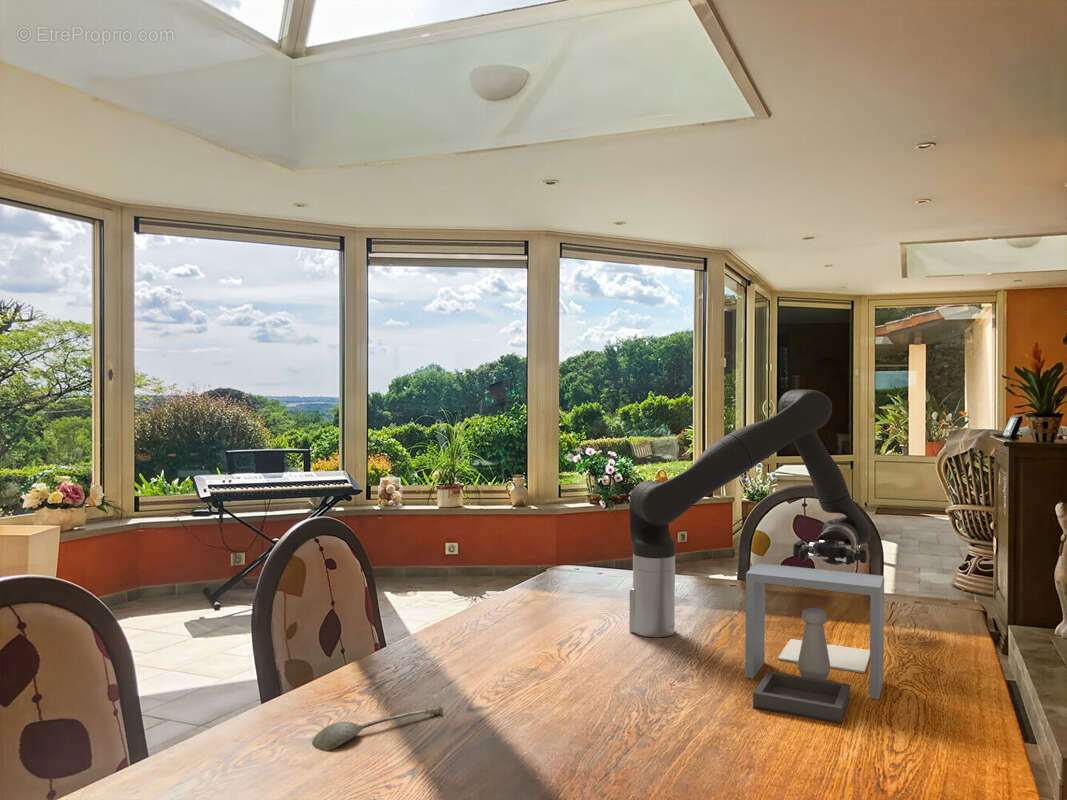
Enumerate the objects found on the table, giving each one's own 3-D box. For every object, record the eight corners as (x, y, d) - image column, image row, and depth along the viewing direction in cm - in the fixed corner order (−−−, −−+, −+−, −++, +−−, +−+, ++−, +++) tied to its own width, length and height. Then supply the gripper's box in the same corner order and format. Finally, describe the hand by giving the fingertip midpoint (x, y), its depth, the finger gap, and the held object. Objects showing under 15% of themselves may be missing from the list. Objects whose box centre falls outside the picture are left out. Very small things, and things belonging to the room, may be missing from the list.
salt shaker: (832, 686, 146) (833, 614, 146) (799, 683, 147) (800, 612, 147) (827, 675, 151) (828, 606, 151) (795, 672, 153) (796, 604, 152)
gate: (745, 677, 150) (745, 573, 150) (756, 661, 159) (757, 563, 159) (878, 699, 139) (879, 587, 139) (883, 681, 148) (884, 575, 148)
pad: (777, 659, 160) (777, 657, 160) (790, 640, 172) (790, 638, 172) (864, 673, 152) (864, 671, 152) (871, 652, 165) (871, 650, 165)
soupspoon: (304, 745, 123) (319, 764, 117) (304, 724, 122) (319, 742, 117) (432, 708, 135) (452, 723, 130) (432, 689, 135) (451, 703, 130)
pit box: (752, 707, 136) (753, 692, 135) (767, 684, 146) (767, 671, 146) (841, 723, 129) (841, 708, 129) (849, 698, 140) (849, 684, 140)
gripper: (802, 524, 179) (788, 536, 164) (871, 529, 172) (863, 542, 158) (802, 558, 179) (788, 572, 165) (871, 564, 172) (863, 580, 158)
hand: (825, 557), depth 161 cm, fingers open, 8 cm apart
